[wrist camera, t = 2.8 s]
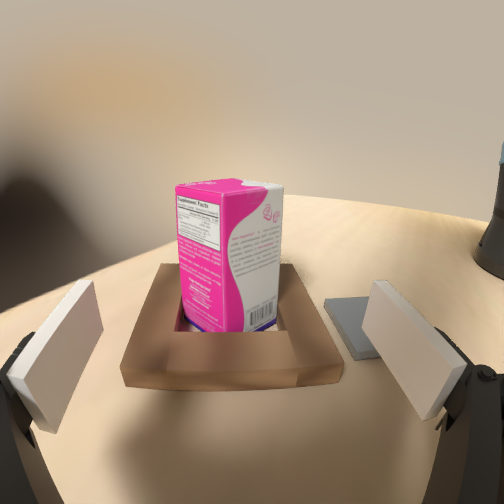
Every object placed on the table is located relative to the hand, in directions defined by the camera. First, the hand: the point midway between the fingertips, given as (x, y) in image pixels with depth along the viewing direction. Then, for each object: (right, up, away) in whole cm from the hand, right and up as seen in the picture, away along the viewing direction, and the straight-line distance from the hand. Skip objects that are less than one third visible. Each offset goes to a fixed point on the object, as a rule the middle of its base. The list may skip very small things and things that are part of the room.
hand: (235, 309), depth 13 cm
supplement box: (-1, -3, +12) cm, 12 cm away
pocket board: (-1, -3, +12) cm, 12 cm away
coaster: (+12, -4, +11) cm, 17 cm away
